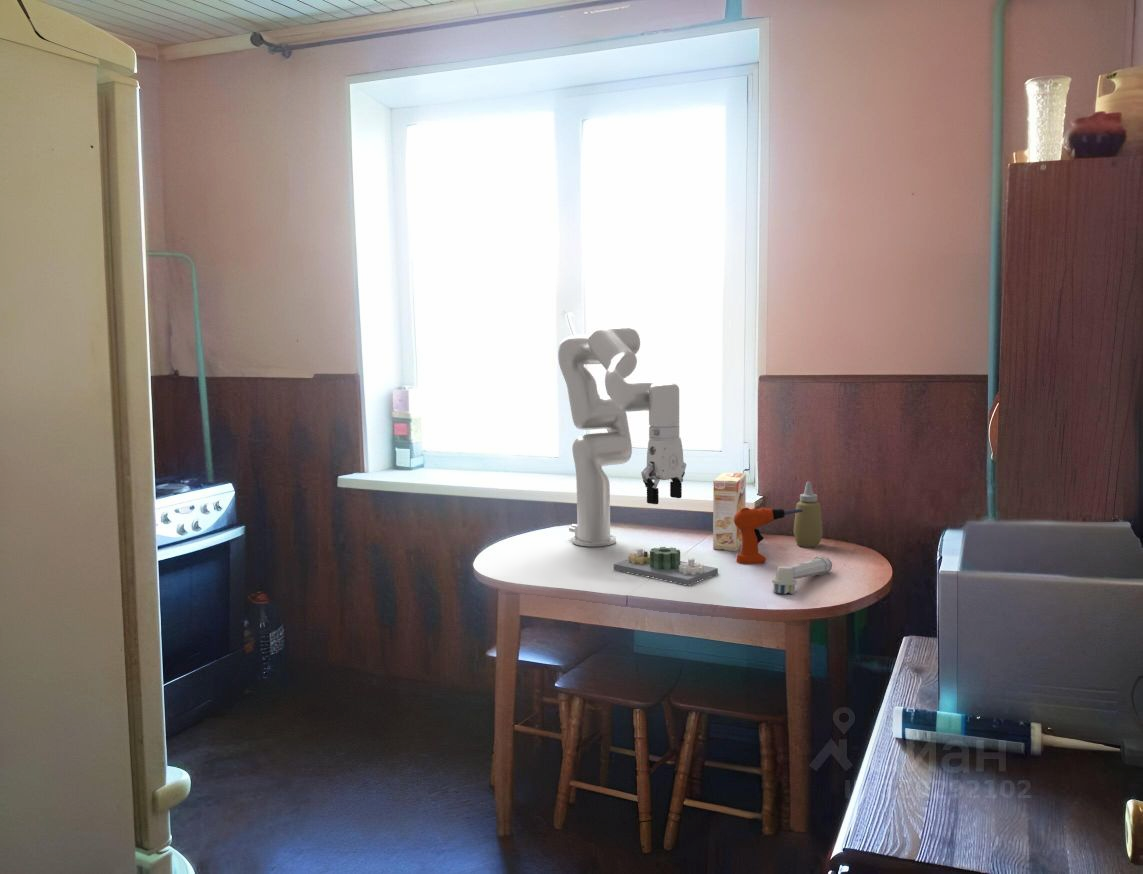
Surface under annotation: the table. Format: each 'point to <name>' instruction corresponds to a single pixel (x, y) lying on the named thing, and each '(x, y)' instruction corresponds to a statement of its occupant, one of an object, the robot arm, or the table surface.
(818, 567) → the toothbrush head
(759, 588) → the table surface
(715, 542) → the coffeecake box
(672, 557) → the idler gear
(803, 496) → the squeeze bottle
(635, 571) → the gear board
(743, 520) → the toy drill
